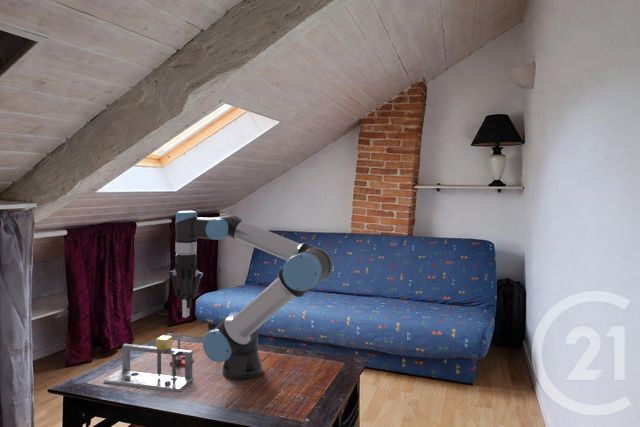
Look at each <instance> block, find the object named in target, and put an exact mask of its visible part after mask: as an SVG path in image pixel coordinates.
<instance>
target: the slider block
mask: <svg viewBox="0 0 640 427" xmlns="http://www.w3.org/2000/svg"><path fill="white" fill-rule="evenodd" d="M172 339H173V336H171V335H160V336H158V337H157V338H156V342H155V343H156V346H155V347H156V349H157V353H156V354H157V356H156V357H157V358H156V366H157V368H156V371H157V372H156V374H158V376H160V375H162V353H161V351H162V350H168V349H169V348H172V347H173V343H172V342H173V340H172Z"/></svg>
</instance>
